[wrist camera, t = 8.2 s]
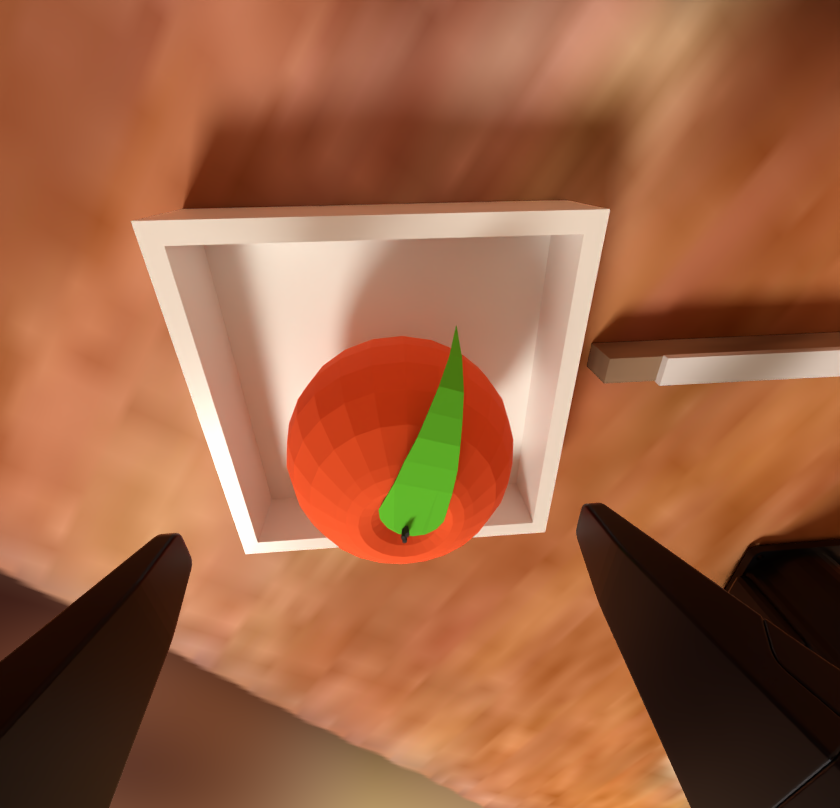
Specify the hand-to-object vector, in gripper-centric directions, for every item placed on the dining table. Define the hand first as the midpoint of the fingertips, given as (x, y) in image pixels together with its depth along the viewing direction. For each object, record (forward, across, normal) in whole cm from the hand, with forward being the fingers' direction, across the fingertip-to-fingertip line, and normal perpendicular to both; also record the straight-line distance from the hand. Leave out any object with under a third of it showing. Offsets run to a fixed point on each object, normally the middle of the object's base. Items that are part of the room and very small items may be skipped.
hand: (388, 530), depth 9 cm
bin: (+8, 0, 0) cm, 8 cm away
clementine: (+8, -1, 0) cm, 8 cm away
